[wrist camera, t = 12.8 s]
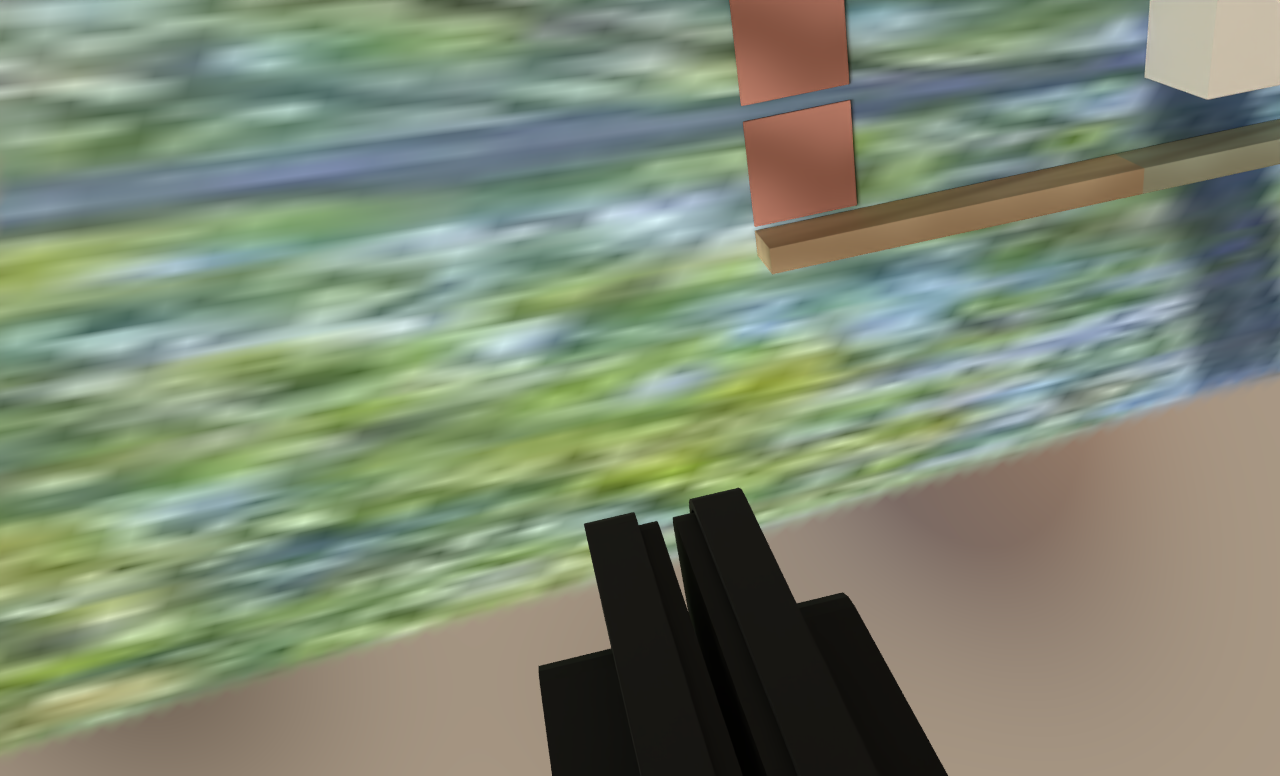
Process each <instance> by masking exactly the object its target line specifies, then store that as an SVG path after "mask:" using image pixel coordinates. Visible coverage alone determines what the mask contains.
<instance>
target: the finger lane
mask: <svg viewBox="0 0 1280 776" xmlns="http://www.w3.org/2000/svg"><path fill="white" fill-rule="evenodd" d="M729 2H730V11H731V20H732V29H733V38H734V47H735V56H736V65H737V74H738V82H739V91H740V100H741V106H744V105H749V104H754V103H759V102H764V101H768V100H773V99H778V98H783V97H788V96H793V95H798V94H803V93H808V92H813V91H818V90H822V89H827V88H832V87H837V86H842V85H847V84H849V73H848V57H847V41H846V25H845V9H844V0H729ZM743 127H744V136H745V145H746V154H747V163H748V172H749V181H750V190H751V199H752V208H753V217H754V226H755V227H757V226H761V225H766V224H771V223H775V222H780V221H785V220H789V219H794V218H799V217H803V216H808V215H813V214H818V213H822V212H827V211H832V210H836V209H841V208H846V207H850V206H855V205H857V200H856V184H855V168H854V152H853V136H852V120H851V104H850V100H847V101H842V102H837V103H832V104H827V105H823V106H818V107H813V108H808V109H803V110H798V111H793V112H788V113H783V114H779V115H774V116H769V117H764V118H759V119H754V120H749V121H744V122H743ZM1278 164H1280V119H1277V120H1273V121H1268V122H1263V123H1259V124H1254V125H1249V126H1245V127H1240V128H1235V129H1230V130H1226V131H1221V132H1216V133H1212V134H1207V135H1202V136H1198V137H1193V138H1188V139H1184V140H1179V141H1174V142H1169V143H1165V144H1160V145H1155V146H1151V147H1146V148H1141V149H1137V150H1132V151H1127V152H1123V153H1118V154H1113V155H1109V156H1104V157H1099V158H1094V159H1090V160H1085V161H1080V162H1076V163H1071V164H1066V165H1062V166H1057V167H1052V168H1048V169H1043V170H1038V171H1034V172H1029V173H1024V174H1019V175H1015V176H1010V177H1005V178H1001V179H996V180H991V181H987V182H982V183H977V184H973V185H968V186H963V187H958V188H954V189H949V190H944V191H940V192H935V193H930V194H926V195H921V196H916V197H912V198H907V199H902V200H898V201H893V202H888V203H883V204H879V205H874V206H869V207H865V208H860V209H855V210H851V211H846V212H841V213H837V214H832V215H827V216H822V217H818V218H813V219H808V220H804V221H799V222H794V223H790V224H785V225H780V226H776V227H771V228H766V229H762V230H757V231H755V235H756V244H757V253H758V256H759V258H760V259H761V260H762V261H763V263H764V264H765V265H766V267H767V268H768V269H769V270H770V272H771V273H772V274H775V273H780V272H784V271H789V270H794V269H798V268H803V267H807V266H812V265H817V264H821V263H826V262H830V261H835V260H840V259H844V258H849V257H853V256H858V255H863V254H867V253H872V252H877V251H881V250H886V249H890V248H895V247H900V246H904V245H909V244H913V243H918V242H923V241H927V240H932V239H936V238H941V237H946V236H950V235H955V234H960V233H964V232H969V231H973V230H978V229H983V228H987V227H992V226H996V225H1001V224H1006V223H1010V222H1015V221H1019V220H1024V219H1029V218H1033V217H1038V216H1043V215H1047V214H1052V213H1056V212H1061V211H1066V210H1070V209H1075V208H1079V207H1084V206H1089V205H1093V204H1098V203H1103V202H1107V201H1112V200H1116V199H1121V198H1126V197H1130V196H1135V195H1139V194H1144V193H1149V192H1153V191H1158V190H1162V189H1167V188H1172V187H1176V186H1181V185H1186V184H1190V183H1195V182H1199V181H1204V180H1209V179H1213V178H1218V177H1222V176H1227V175H1232V174H1236V173H1241V172H1245V171H1250V170H1255V169H1259V168H1264V167H1269V166H1273V165H1278Z"/></svg>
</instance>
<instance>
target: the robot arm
mask: <svg viewBox="0 0 1280 776" xmlns="http://www.w3.org/2000/svg"><path fill="white" fill-rule="evenodd" d="M689 509H690V513H689V514H685V515H681V516H676V517H673V526H674V532H675V538H676V543H677V549H678V555H679V561H680V567H681V572H682V577H683V583H684V590H685V595H686V601H687V607H688V610H687V607H686V604H685V601H684V598H683V595H682V592H681V589H680V587H679V583H678V580H677V578H676V575H675V571H674V568H673V565H672V562H671V559H670V556H669V553H668V550H667V547H666V544H665V541H664V538H663V535H662V532H661V529H660V527H659V524H658V522H657V521H655V522H651V523H646V524H642V525H638V522H637V519H636V516H635V513H634V512H632V513H628V514H624V515H619V516H615V517H611V518H607V519H602V520H598V521H594V522H589V523H585V524H584V527H585V531H586V536H587V540H588V545H589V549H590V554H591V558H592V563H593V567H594V572H595V576H596V581H597V585H598V590H599V594H600V599H601V603H602V608H603V613H604V617H605V621H606V626H607V630H608V635H609V639H610V644H611V649H607V650H603V651H599V652H595V653H591V654H587V655H583V656H579V657H574V658H570V659H566V660H562V661H558V662H553V663H550V664H546V665H541V666H539V680H540V688H541V696H542V703H543V711H544V718H545V726H546V733H547V741H548V748H549V756H550V763H551V771H552V776H948V775H947V773H946V771H945V769H944V767H943V765H942V764H941V762H940V760H939V759H938V756H937V755H936V753H935V751H934V749H933V747H932V745H931V744H930V742H929V740H928V739H927V736H926V735H925V733H924V731H923V729H922V727H921V726H920V724H919V722H918V720H917V718H916V717H915V715H914V713H913V711H912V709H911V707H910V706H909V704H908V702H907V701H906V698H905V697H904V695H903V693H902V691H901V689H900V687H899V686H898V684H897V682H896V680H895V678H894V677H893V675H892V673H891V671H890V670H889V667H888V666H887V664H886V662H885V661H884V658H883V657H882V655H881V653H880V651H879V649H878V648H877V646H876V644H875V642H874V640H873V639H872V637H871V635H870V633H869V631H868V629H867V628H866V626H865V624H864V622H863V620H862V619H861V617H860V615H859V613H858V611H857V609H856V608H855V606H854V604H853V603H852V601H851V600H850V598H849V597H848V596H847V595H845V594H844V593H838V594H834V595H830V596H826V597H822V598H818V599H813V600H810V601H806V602H801V603H796V601H795V599H794V597H793V595H792V593H791V591H790V589H789V587H788V584H787V582H786V580H785V578H784V576H783V574H782V572H781V570H780V568H779V566H778V564H777V562H776V559H775V557H774V555H773V553H772V551H771V549H770V547H769V545H768V543H767V541H766V538H765V536H764V534H763V532H762V530H761V528H760V526H759V524H758V522H757V520H756V518H755V515H754V513H753V511H752V509H751V507H750V505H749V503H748V501H747V499H746V497H745V495H744V493H743V491H742V489H740V488H736V489H731V490H727V491H723V492H718V493H714V494H710V495H706V496H701V497H697V498H693V499H690V500H689Z"/></svg>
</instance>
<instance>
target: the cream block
mask: <svg viewBox="0 0 1280 776" xmlns="http://www.w3.org/2000/svg"><path fill="white" fill-rule="evenodd" d="M1145 78H1148V79H1151V80H1154V81H1156V82H1159V83H1162V84H1165V85H1168V86H1170V87H1173V88H1176V89H1179V90H1182V91H1185V92H1187V93H1190V94H1193V95H1196V96H1199V97H1201V98H1204V99H1207V100H1208V99H1213V98H1218V97H1223V96H1227V95H1232V94H1237V93H1242V92H1247V91H1252V90H1257V89H1262V88H1267V87H1272V86H1277V85H1280V0H1150V9H1149V23H1148V37H1147V51H1146V64H1145Z"/></svg>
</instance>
